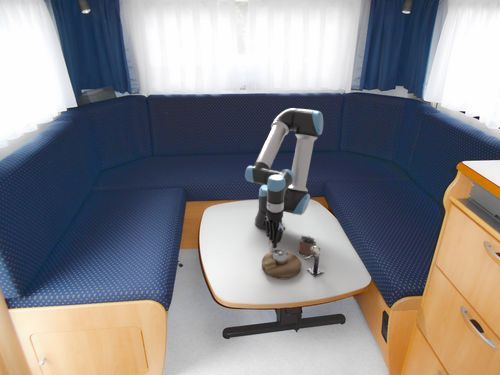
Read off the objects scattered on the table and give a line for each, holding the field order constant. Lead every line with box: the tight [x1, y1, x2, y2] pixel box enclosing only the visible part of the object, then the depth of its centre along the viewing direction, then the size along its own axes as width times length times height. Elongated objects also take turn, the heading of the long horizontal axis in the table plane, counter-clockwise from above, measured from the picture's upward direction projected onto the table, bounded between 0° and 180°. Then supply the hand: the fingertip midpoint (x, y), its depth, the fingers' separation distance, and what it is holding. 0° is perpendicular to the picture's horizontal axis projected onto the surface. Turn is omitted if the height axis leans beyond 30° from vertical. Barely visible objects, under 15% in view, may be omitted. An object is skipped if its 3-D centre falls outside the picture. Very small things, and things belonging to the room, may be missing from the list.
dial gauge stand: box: [304, 245, 324, 278], centre depth 154 cm, size 5×8×14 cm, turn 123°
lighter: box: [297, 235, 317, 257], centre depth 167 cm, size 8×3×10 cm, turn 71°
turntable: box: [261, 251, 302, 280], centre depth 159 cm, size 18×18×5 cm
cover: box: [272, 248, 289, 266], centre depth 159 cm, size 7×7×5 cm
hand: (272, 251), depth 165 cm, fingers closed
